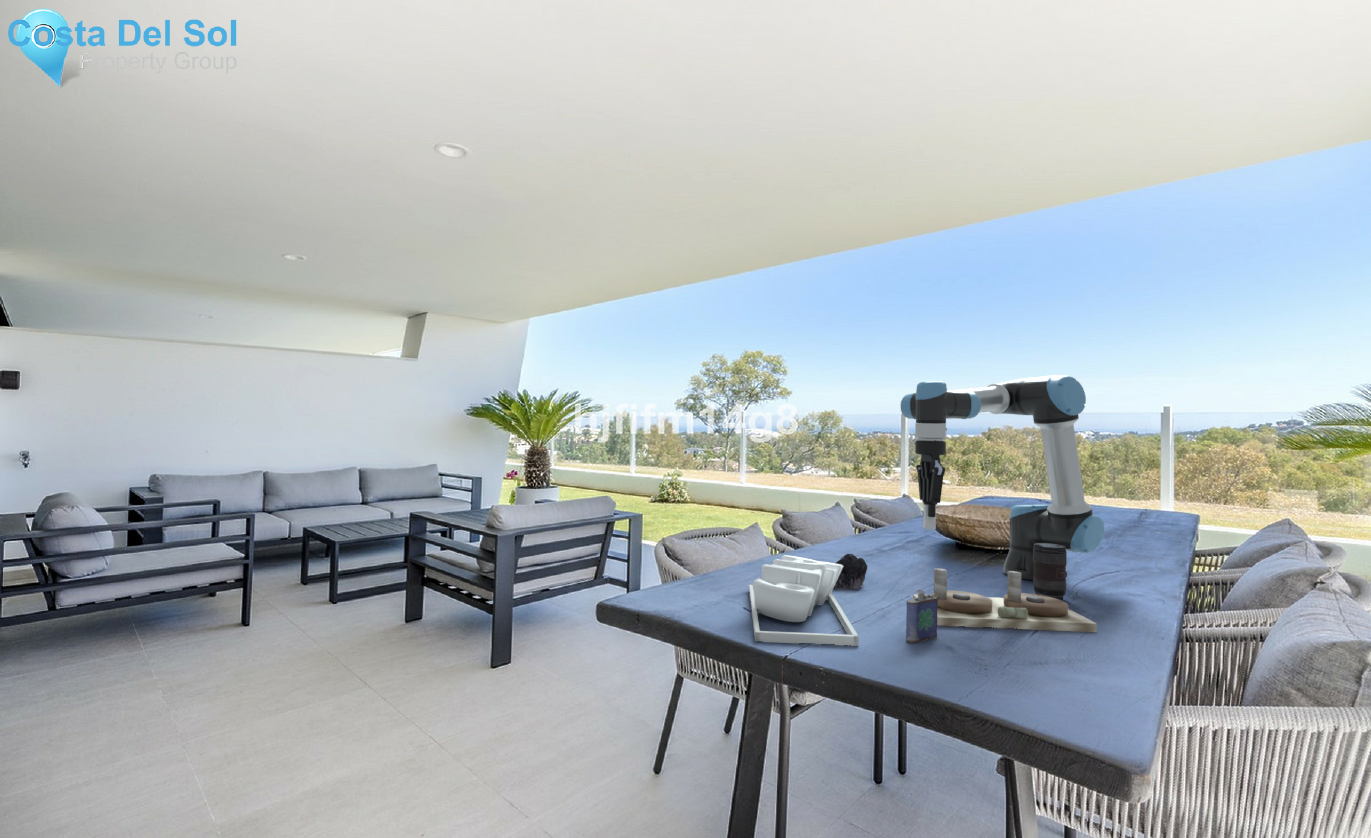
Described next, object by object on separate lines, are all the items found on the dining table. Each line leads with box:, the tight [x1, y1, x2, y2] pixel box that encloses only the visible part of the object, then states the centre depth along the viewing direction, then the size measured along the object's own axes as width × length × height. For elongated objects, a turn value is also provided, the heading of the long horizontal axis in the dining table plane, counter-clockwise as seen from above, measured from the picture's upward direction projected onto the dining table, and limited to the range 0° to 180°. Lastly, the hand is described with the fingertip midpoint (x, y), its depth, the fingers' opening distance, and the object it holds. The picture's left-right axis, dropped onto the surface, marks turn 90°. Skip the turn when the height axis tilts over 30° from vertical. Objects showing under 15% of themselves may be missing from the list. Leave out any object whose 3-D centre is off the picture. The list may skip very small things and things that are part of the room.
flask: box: [905, 589, 938, 644], centre depth 135 cm, size 9×3×11 cm, turn 121°
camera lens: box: [1032, 543, 1068, 601], centre depth 170 cm, size 8×8×15 cm
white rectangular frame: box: [748, 583, 860, 647], centre depth 151 cm, size 22×41×2 cm, turn 176°
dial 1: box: [931, 568, 992, 613], centre depth 154 cm, size 14×14×9 cm
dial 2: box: [1003, 571, 1069, 616], centre depth 152 cm, size 14×14×9 cm
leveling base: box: [912, 593, 1098, 633], centre depth 153 cm, size 36×20×4 cm, turn 86°
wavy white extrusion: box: [753, 554, 843, 623], centre depth 155 cm, size 35×16×11 cm, turn 149°
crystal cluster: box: [834, 553, 868, 590], centre depth 182 cm, size 13×14×10 cm
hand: (929, 528), depth 161 cm, fingers closed
